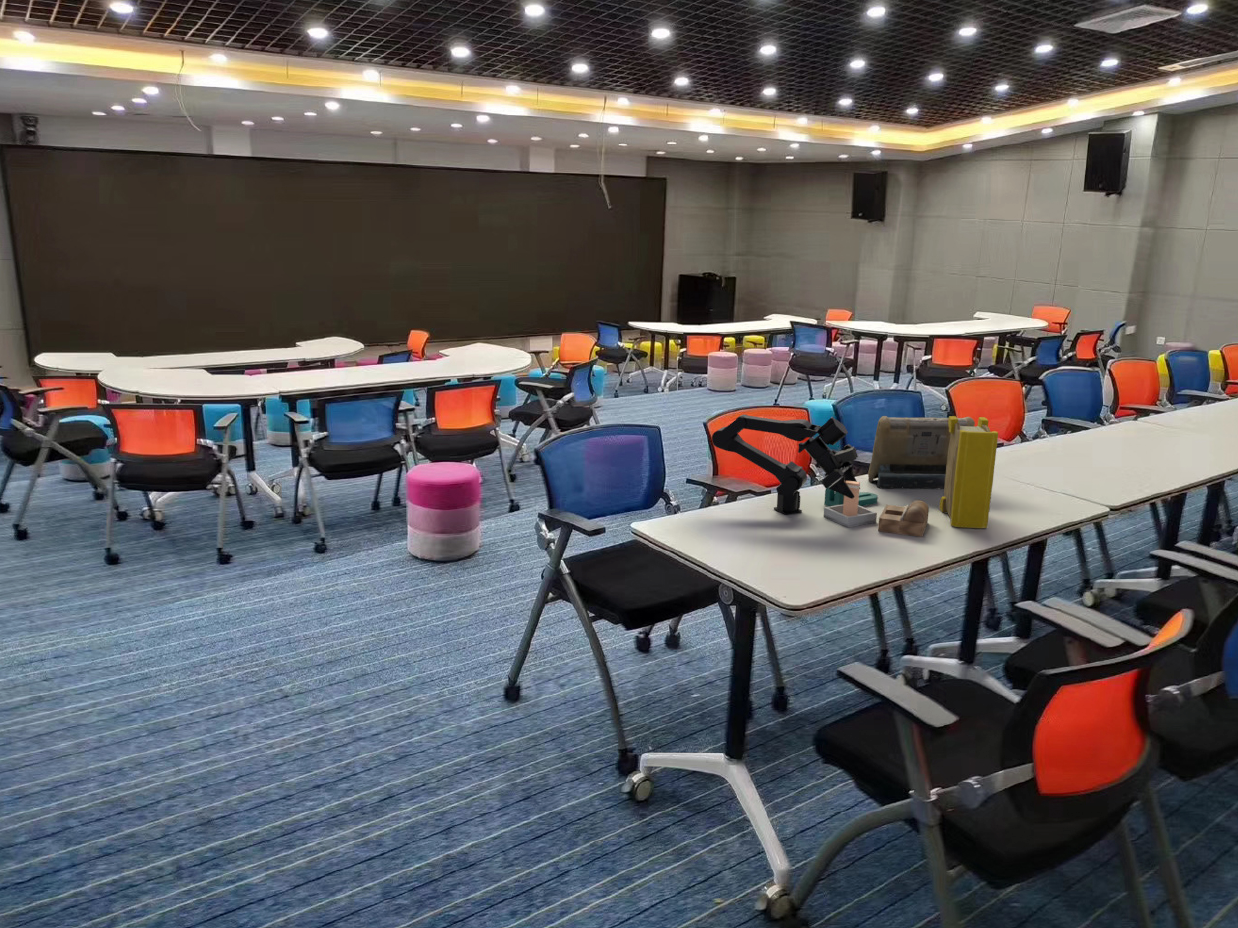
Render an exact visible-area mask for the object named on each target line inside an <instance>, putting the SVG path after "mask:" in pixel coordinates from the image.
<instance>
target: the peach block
mask: <svg viewBox="0 0 1238 928" xmlns="http://www.w3.org/2000/svg"><path fill="white" fill-rule="evenodd" d="M846 484H847V485H848V487H849V488H850V490H851V491H852V493H853V494H854V496H855V497H854V498H853V499H851V498H849V497H847V496H845V495H844V503H843V514H844V515H846V516H848V517H849V516H855V515H858V502H859V493H860V490H861V482H860V481H857V482H855V481H846ZM859 489H860V490H859Z"/></svg>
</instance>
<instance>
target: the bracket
mask: <svg viewBox="0 0 1238 928" xmlns="http://www.w3.org/2000/svg"><path fill="white" fill-rule="evenodd" d="M829 487H830V486H829ZM829 487H828V488H829ZM828 488H827V489H826V488H825V491H824V505H825V507H830V506H836V505H842V504H843V503H844V495H842V494H840V493H838V492H836V491H833V490H831V489H828ZM878 496H879V495H878V494H876V493H874V492H869V491H868V492H866V491H863V492H861V491H859V502H858V505H859V506H862V507H865V506H869V505H870V506H871V505H875V504H876V505H877V503H878V498H879V497H878Z"/></svg>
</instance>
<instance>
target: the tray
mask: <svg viewBox="0 0 1238 928" xmlns="http://www.w3.org/2000/svg"><path fill="white" fill-rule="evenodd" d="M877 517H878V512H876V511H874V510H871V509H869V508H866V507H865V506H859V505H858V515H855V516H849V517H848V516H846V515H844V514H843V504H842V505H836V506H830V507H829V506H825V507H824V508H823V518H825V519H828V520H829V521H832V522H834V523H837V524H839V525H841V526H844V527H846V528H852V527H857V526H863V525H869V524H873V523H877V519H878V518H877Z"/></svg>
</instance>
